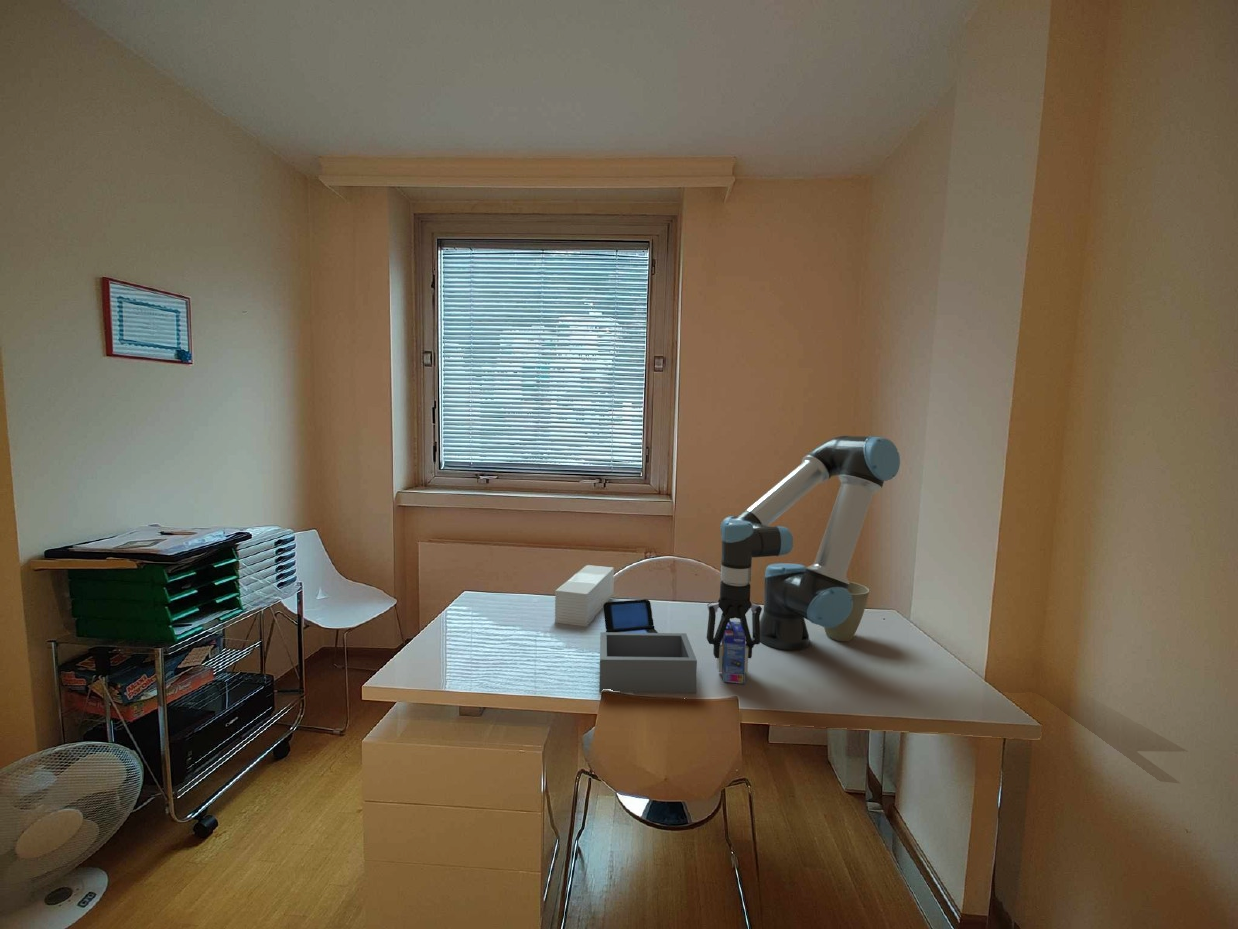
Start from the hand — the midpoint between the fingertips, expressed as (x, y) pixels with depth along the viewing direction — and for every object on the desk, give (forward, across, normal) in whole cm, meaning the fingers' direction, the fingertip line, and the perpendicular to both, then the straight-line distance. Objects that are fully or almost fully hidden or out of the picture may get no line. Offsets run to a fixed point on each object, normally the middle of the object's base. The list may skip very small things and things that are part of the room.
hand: (731, 669), depth 131 cm
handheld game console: (+2, +24, -23) cm, 34 cm away
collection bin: (+1, +23, +2) cm, 23 cm away
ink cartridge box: (+1, 0, 0) cm, 1 cm away
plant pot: (+2, -40, -25) cm, 47 cm away
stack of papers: (+2, +39, -47) cm, 61 cm away
